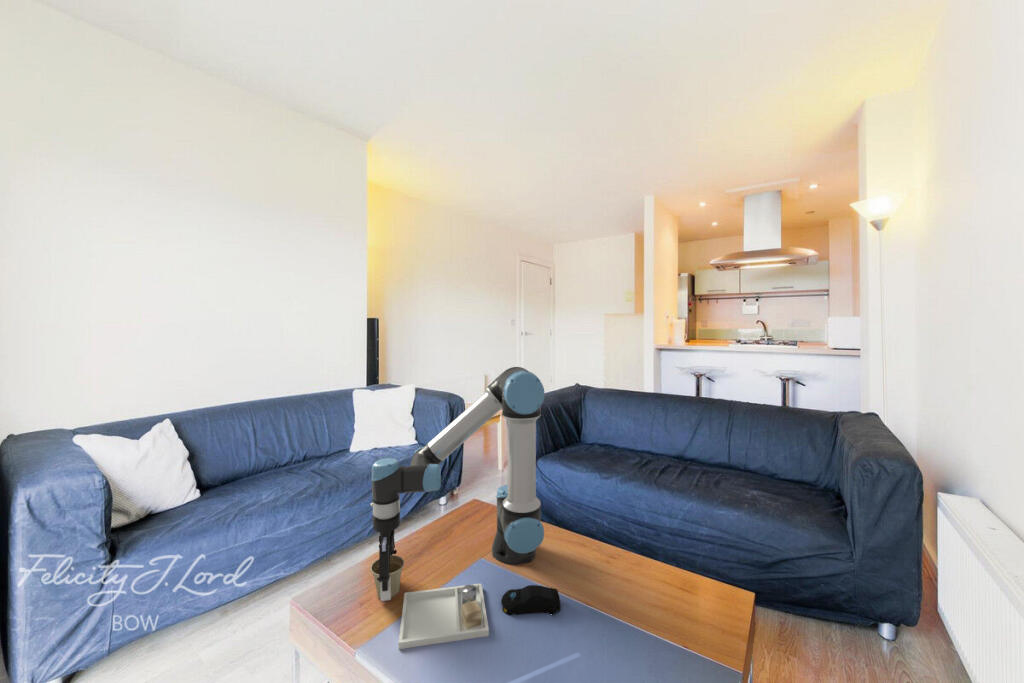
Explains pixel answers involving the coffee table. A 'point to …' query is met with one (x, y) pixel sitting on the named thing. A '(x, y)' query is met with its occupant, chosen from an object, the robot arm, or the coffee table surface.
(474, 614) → the beech part
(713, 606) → the coffee table surface
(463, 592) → the metal part
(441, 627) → the tray
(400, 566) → the flower pot
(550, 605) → the toy car
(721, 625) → the coffee table surface
